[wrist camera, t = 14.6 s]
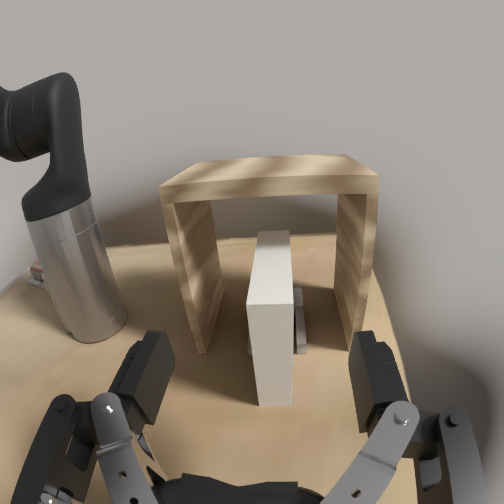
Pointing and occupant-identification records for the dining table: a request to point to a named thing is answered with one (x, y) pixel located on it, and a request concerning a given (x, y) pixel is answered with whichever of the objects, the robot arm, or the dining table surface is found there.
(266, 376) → the white box
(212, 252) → the wooden arch
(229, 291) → the dining table surface
